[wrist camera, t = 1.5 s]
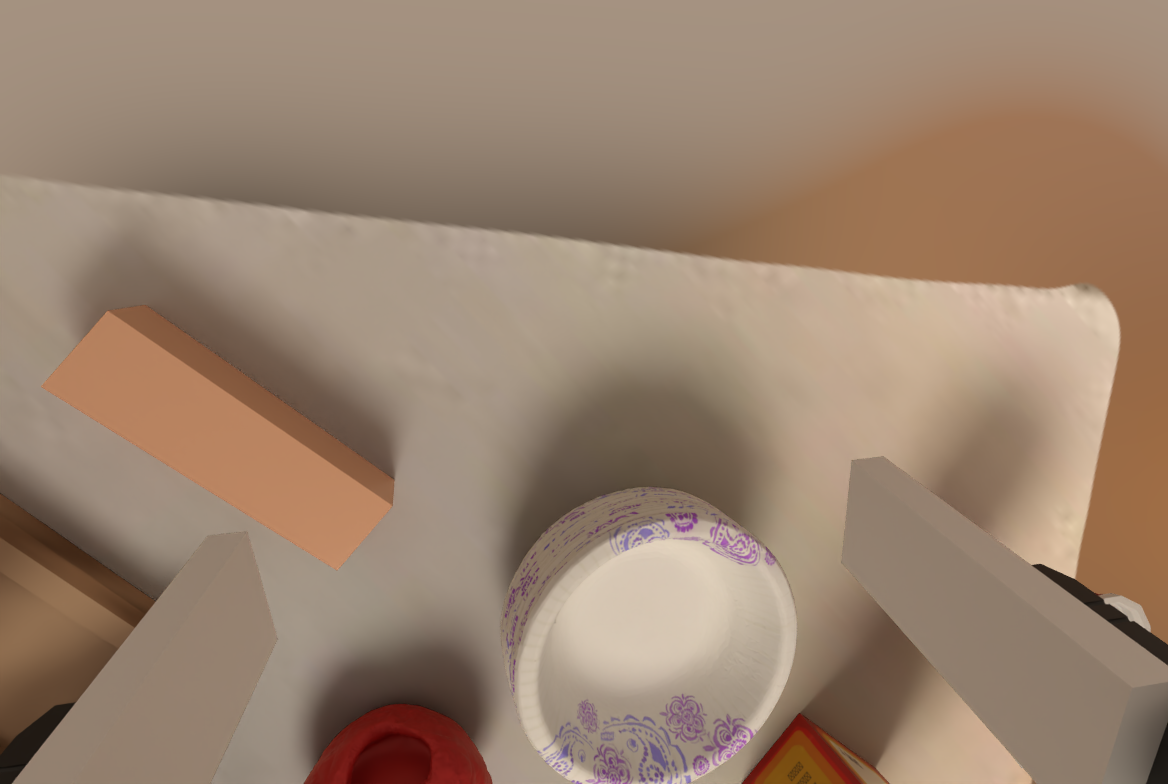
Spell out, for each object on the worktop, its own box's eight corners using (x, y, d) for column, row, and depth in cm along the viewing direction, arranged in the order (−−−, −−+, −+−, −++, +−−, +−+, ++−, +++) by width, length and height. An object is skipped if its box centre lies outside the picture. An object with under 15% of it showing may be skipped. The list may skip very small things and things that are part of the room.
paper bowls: (715, 440, 38) (791, 483, 30) (740, 653, 41) (814, 739, 34) (467, 504, 34) (483, 572, 27) (519, 731, 38) (546, 846, 30)
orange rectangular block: (394, 478, 33) (392, 505, 29) (345, 535, 33) (337, 570, 29) (147, 304, 29) (107, 310, 25) (90, 370, 28) (40, 386, 25)
